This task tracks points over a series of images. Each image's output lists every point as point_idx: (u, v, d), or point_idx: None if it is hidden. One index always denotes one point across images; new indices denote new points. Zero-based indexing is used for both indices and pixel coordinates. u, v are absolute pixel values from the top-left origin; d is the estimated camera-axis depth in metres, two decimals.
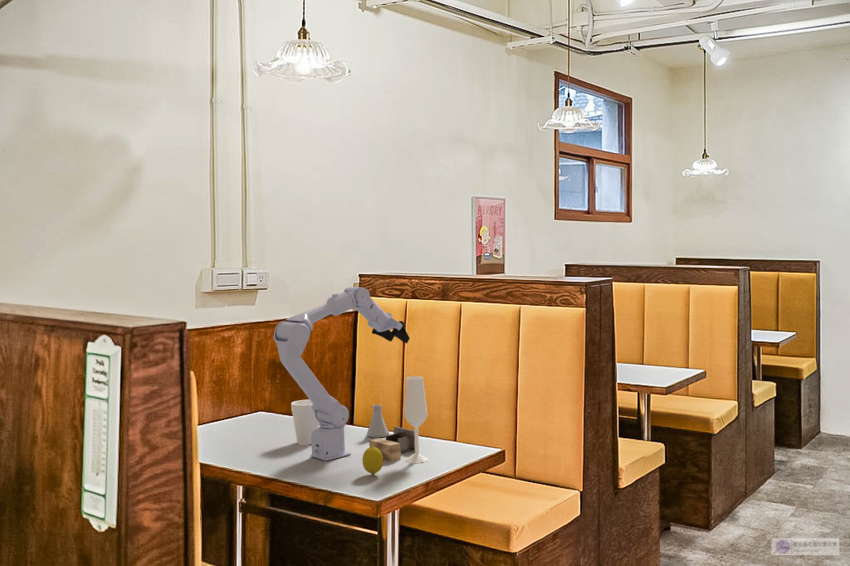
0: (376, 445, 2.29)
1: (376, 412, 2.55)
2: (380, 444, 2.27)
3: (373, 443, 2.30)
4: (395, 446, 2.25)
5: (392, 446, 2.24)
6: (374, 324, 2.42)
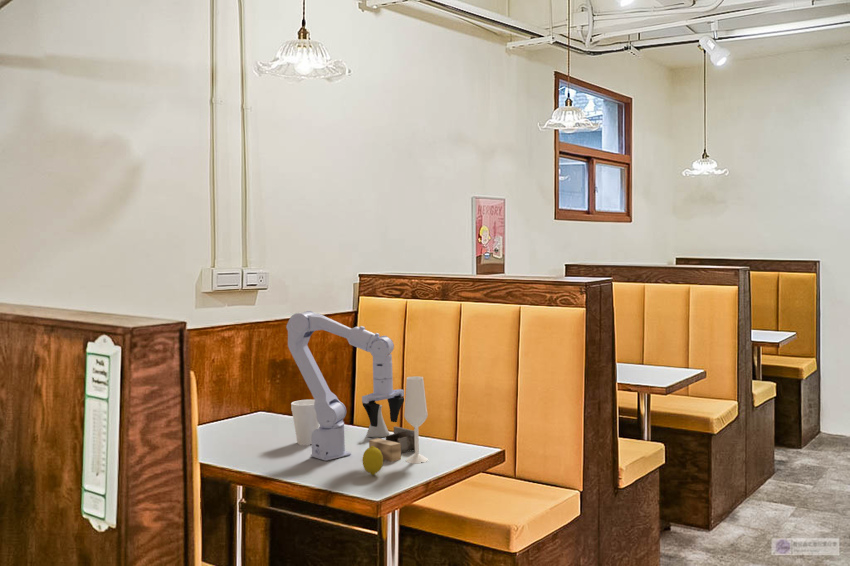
0: (376, 445, 2.29)
1: None
2: (380, 444, 2.27)
3: (373, 444, 2.30)
4: (395, 446, 2.25)
5: (392, 446, 2.24)
6: None
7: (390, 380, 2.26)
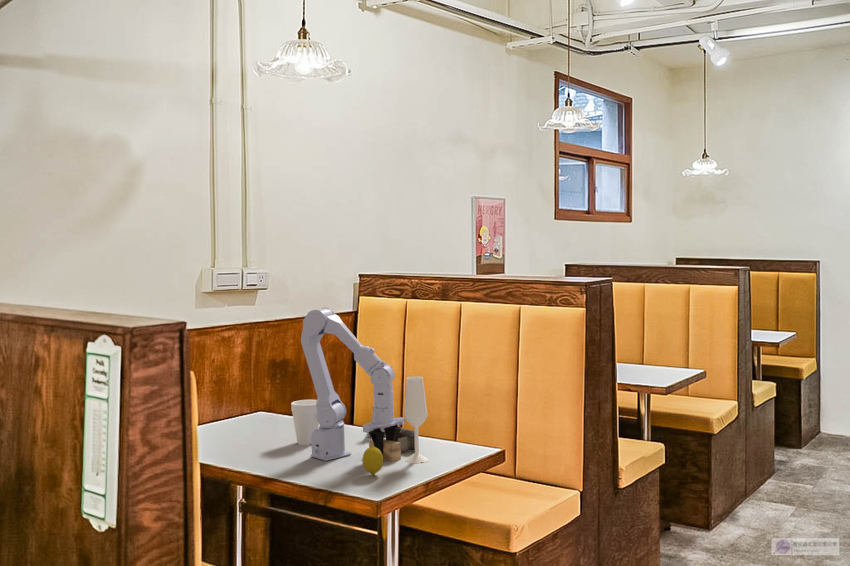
0: None
1: None
2: None
3: (373, 443, 2.30)
4: (395, 445, 2.25)
5: (392, 445, 2.24)
6: None
7: (391, 409, 2.27)
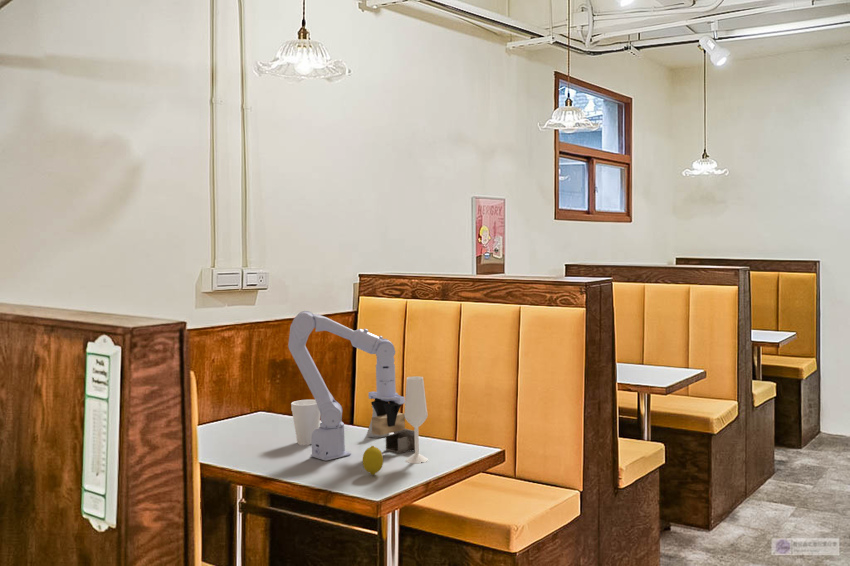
0: None
1: None
2: None
3: (384, 420, 2.31)
4: None
5: None
6: (380, 386, 2.31)
7: None
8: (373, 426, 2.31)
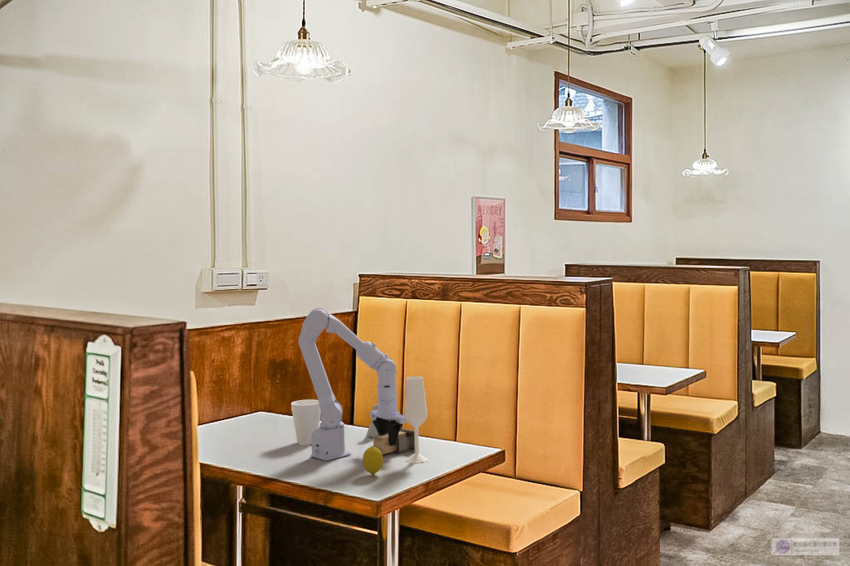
0: None
1: None
2: None
3: (386, 439, 2.31)
4: None
5: None
6: (382, 405, 2.31)
7: None
8: (374, 445, 2.31)
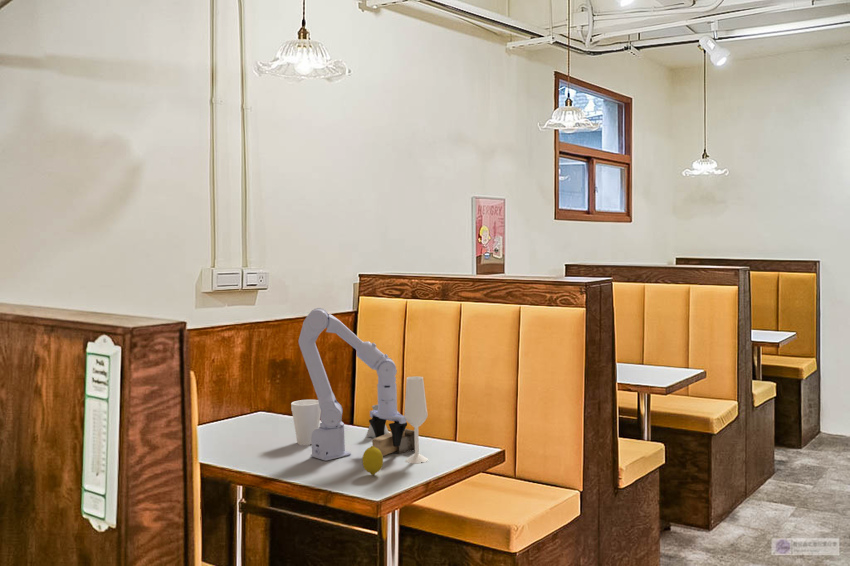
0: (388, 441, 2.31)
1: None
2: None
3: (385, 441, 2.31)
4: None
5: None
6: (382, 405, 2.31)
7: None
8: None
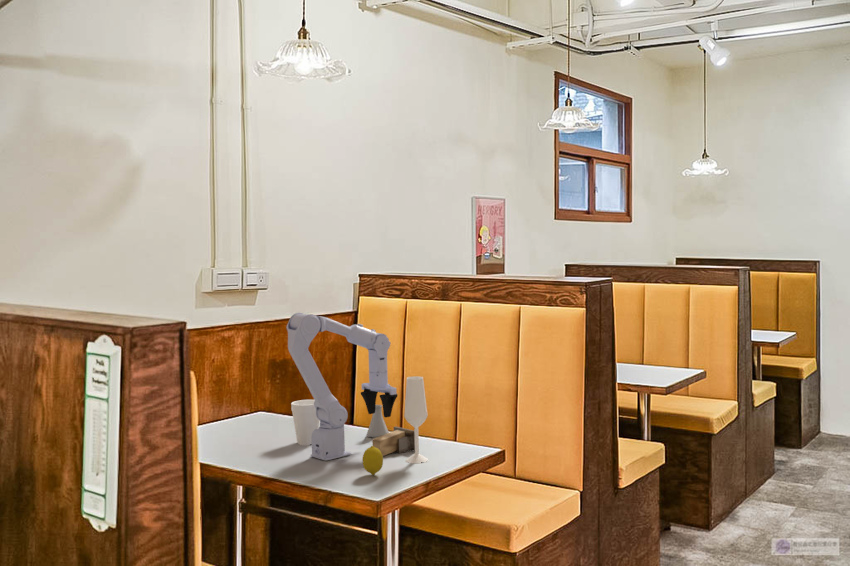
0: (388, 441, 2.31)
1: (376, 412, 2.55)
2: (392, 437, 2.33)
3: (385, 441, 2.31)
4: None
5: None
6: (373, 377, 2.38)
7: None
8: None
